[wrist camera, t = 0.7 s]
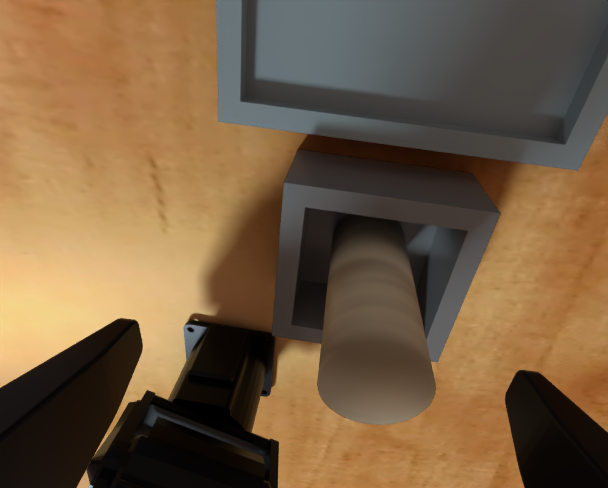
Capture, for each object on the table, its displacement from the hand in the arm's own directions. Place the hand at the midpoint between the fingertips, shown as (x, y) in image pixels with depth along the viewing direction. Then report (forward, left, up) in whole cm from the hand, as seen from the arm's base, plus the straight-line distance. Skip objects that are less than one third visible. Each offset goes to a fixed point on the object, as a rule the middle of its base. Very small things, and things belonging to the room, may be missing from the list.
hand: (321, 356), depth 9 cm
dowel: (-4, -2, -13) cm, 13 cm away
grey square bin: (-4, -2, -13) cm, 14 cm away
